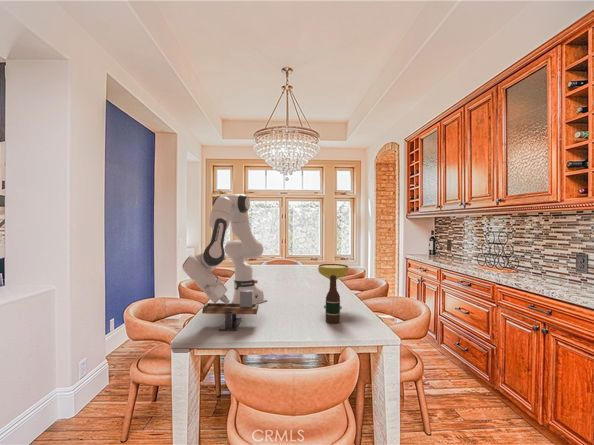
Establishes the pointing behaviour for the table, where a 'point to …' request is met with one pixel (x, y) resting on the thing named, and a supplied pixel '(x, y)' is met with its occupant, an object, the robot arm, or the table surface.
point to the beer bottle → (333, 302)
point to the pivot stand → (230, 322)
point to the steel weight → (246, 298)
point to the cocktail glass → (333, 271)
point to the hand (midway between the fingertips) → (228, 303)
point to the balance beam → (228, 308)
